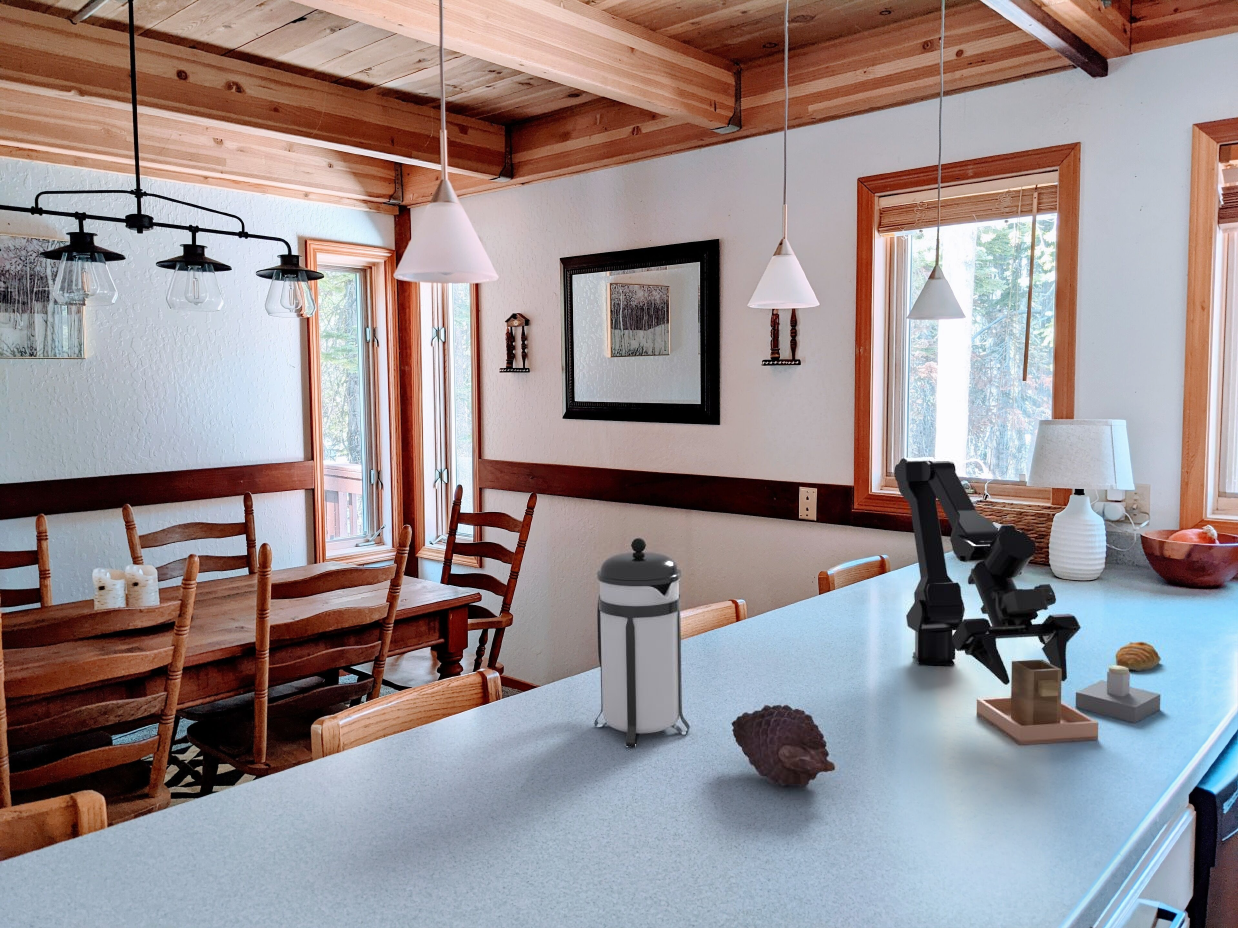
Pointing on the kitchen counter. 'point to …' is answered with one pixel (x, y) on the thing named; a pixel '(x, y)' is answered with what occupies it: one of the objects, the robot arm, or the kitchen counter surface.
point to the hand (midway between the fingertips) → (1036, 681)
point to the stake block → (1118, 697)
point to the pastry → (1137, 656)
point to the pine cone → (782, 744)
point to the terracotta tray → (1068, 730)
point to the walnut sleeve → (1035, 692)
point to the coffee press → (640, 642)
